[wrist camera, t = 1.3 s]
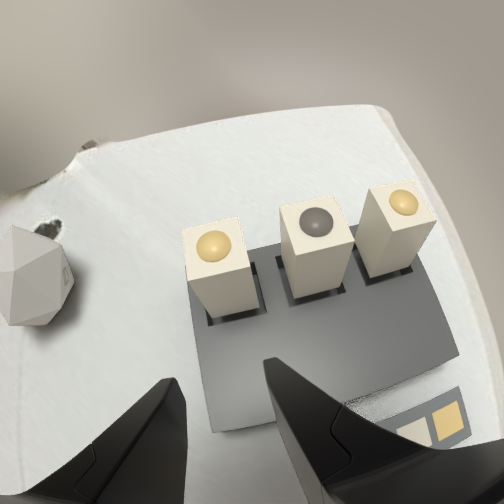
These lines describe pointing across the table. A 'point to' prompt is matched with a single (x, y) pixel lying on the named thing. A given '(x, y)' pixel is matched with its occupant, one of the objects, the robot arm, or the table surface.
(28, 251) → the die
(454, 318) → the table surface
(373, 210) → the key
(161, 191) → the table surface
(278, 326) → the console
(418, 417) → the card
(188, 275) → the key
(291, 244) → the middle key
